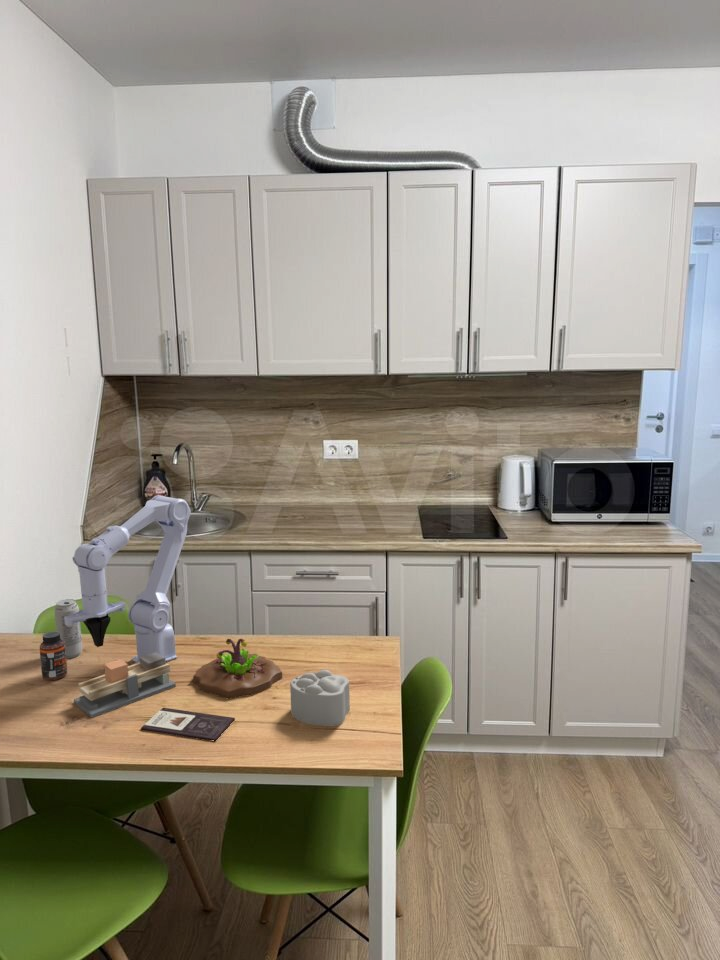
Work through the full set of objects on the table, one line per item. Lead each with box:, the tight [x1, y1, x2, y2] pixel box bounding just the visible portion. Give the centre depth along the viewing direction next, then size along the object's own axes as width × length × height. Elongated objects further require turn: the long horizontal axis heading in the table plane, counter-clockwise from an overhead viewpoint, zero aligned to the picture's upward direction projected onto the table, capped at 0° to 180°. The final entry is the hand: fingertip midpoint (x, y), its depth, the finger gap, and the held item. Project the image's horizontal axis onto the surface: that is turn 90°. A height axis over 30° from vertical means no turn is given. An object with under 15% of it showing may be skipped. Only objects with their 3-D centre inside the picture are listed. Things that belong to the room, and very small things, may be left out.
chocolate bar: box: [140, 707, 236, 742], centre depth 156 cm, size 9×1×18 cm
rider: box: [103, 658, 129, 684], centre depth 168 cm, size 4×4×4 cm
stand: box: [73, 672, 177, 719], centre depth 170 cm, size 21×10×6 cm, turn 133°
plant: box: [192, 638, 283, 700], centre depth 177 cm, size 20×20×11 cm
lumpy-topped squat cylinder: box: [289, 669, 351, 727], centre depth 160 cm, size 10×13×9 cm
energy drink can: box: [54, 598, 83, 660], centre depth 191 cm, size 6×6×15 cm
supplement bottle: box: [39, 631, 68, 681], centre depth 179 cm, size 6×6×11 cm
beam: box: [77, 652, 171, 701], centre depth 170 cm, size 20×6×5 cm, turn 135°
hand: (98, 645), depth 174 cm, fingers closed
